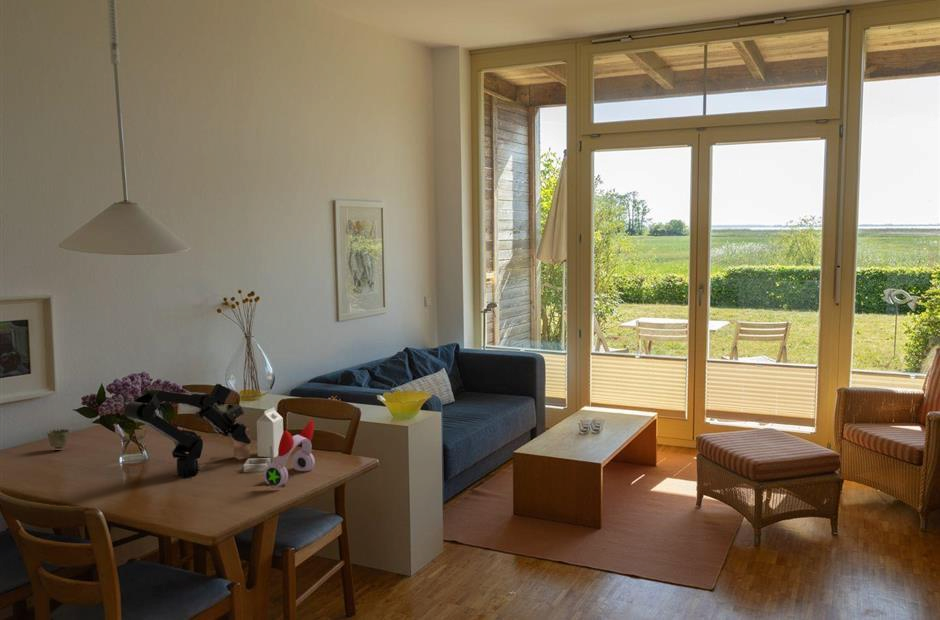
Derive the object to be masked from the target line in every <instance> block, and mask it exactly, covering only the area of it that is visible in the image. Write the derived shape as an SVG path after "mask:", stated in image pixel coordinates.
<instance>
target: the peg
mask: <svg viewBox="0 0 940 620" xmlns="http://www.w3.org/2000/svg"><path fill="white" fill-rule="evenodd" d="M245 433H246V435H247V436H248V438H249V439H250V429H249V428H246V430H245ZM232 440H233V439H232ZM250 440H251V439H250ZM233 457H234V459H237V460H242V459H243V460H244V459H250V458H251V443H250V444H247V443H243V442H239V441H235V440H233Z"/></svg>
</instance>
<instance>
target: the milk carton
mask: <svg viewBox="0 0 940 620" xmlns="http://www.w3.org/2000/svg"><path fill="white" fill-rule="evenodd" d="M283 432H284V418H283V417H282V415H280V414H279V412H277V410H276V407H275V406H274V407H271V408H268V409H266V410H264V411H263V414H262V415H261V417H259V418H258V419H257V421H256V438H257V439H256V441H257V457H262V458H263V457H264V458H270V446H273V449H274V458H277V455H278V448H279V443H280V440H281V437H282V434H283Z"/></svg>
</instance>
